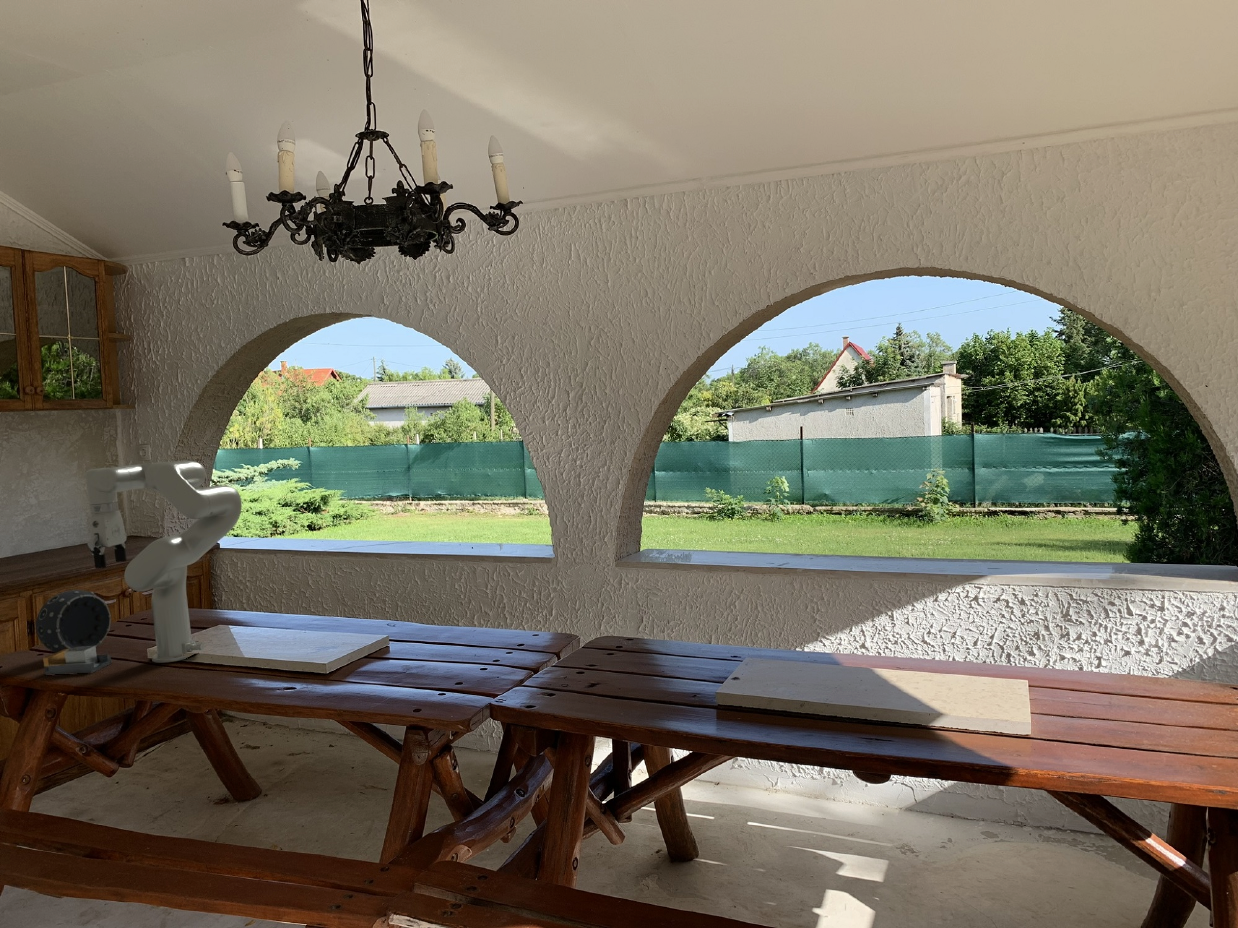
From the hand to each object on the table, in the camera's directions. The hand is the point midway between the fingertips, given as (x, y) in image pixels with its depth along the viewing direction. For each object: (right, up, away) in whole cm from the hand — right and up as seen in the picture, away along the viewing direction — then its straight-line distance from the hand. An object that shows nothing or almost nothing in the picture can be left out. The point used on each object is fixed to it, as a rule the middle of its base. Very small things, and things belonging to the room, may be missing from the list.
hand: (111, 564), depth 273 cm
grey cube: (-3, -28, -10) cm, 30 cm away
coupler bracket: (-4, -30, -10) cm, 32 cm away
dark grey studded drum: (-15, -29, +9) cm, 34 cm away
